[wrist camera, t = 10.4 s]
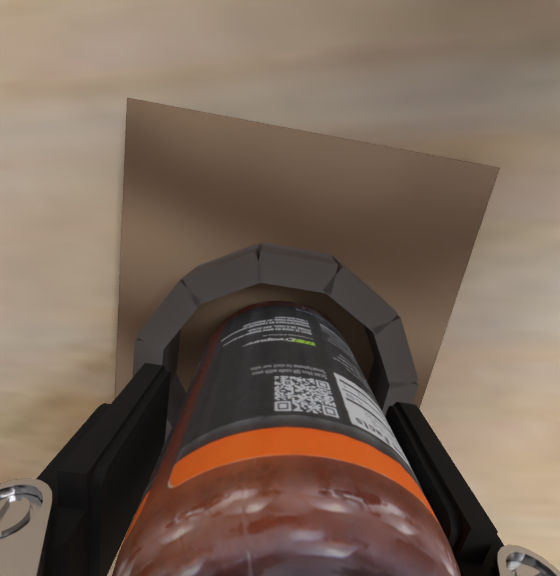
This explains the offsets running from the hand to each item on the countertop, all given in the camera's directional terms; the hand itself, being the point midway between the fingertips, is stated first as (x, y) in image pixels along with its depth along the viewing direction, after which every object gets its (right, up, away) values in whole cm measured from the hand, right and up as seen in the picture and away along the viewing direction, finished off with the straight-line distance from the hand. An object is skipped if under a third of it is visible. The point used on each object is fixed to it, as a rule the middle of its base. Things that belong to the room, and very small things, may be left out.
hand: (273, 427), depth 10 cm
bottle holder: (0, +1, +5) cm, 5 cm away
